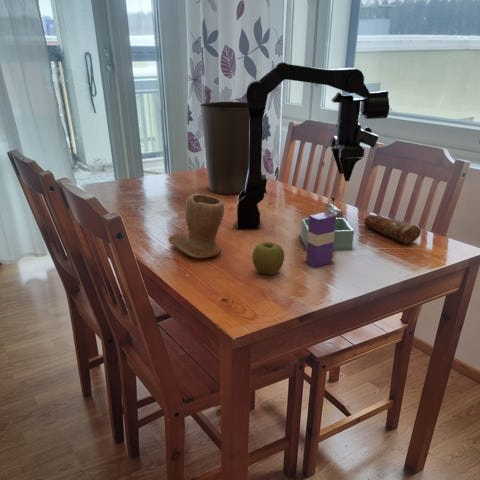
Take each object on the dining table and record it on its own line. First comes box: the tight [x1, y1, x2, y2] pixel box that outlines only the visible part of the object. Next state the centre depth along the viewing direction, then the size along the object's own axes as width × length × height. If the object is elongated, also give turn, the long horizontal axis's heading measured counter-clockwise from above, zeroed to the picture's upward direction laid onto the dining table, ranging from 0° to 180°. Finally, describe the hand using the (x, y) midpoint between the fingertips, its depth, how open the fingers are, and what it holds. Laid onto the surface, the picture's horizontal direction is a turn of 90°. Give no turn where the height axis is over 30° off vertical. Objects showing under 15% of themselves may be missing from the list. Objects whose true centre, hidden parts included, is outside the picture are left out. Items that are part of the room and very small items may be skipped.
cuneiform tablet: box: [324, 196, 344, 218], centre depth 144 cm, size 7×4×12 cm
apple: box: [251, 241, 285, 276], centre depth 113 cm, size 8×8×7 cm
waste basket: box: [199, 101, 250, 195], centre depth 176 cm, size 27×20×30 cm
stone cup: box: [168, 193, 225, 259], centre depth 123 cm, size 15×12×15 cm
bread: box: [363, 214, 422, 244], centre depth 136 cm, size 6×19×6 cm, turn 25°
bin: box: [300, 217, 355, 251], centre depth 131 cm, size 12×11×5 cm
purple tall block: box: [305, 211, 336, 268], centre depth 117 cm, size 4×5×12 cm, turn 121°
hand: (344, 177), depth 137 cm, fingers open, 9 cm apart
